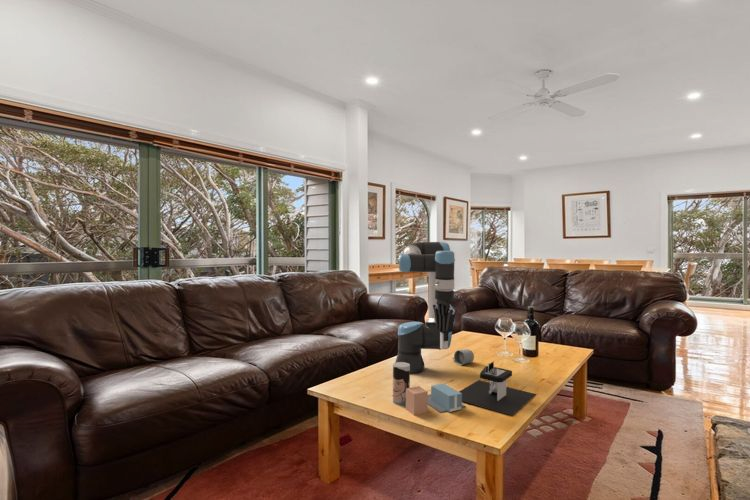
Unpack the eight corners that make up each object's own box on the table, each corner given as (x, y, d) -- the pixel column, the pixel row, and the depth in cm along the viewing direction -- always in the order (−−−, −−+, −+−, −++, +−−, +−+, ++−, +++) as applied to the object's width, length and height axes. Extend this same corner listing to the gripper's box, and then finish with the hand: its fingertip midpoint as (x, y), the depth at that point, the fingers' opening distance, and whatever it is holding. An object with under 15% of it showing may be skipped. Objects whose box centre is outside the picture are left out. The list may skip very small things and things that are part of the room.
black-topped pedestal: (478, 380, 187) (479, 351, 187) (536, 394, 170) (537, 363, 170) (448, 397, 165) (449, 365, 165) (512, 415, 149) (512, 379, 148)
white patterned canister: (392, 398, 166) (392, 362, 165) (409, 398, 166) (409, 362, 165) (393, 404, 159) (393, 367, 159) (410, 405, 159) (410, 367, 158)
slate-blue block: (449, 411, 152) (431, 400, 162) (462, 409, 154) (443, 397, 165) (449, 396, 151) (431, 385, 162) (462, 393, 154) (443, 383, 165)
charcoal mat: (417, 397, 166) (417, 396, 166) (441, 393, 171) (441, 392, 171) (440, 412, 152) (440, 411, 152) (465, 407, 157) (465, 406, 157)
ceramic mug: (475, 364, 212) (475, 349, 212) (464, 366, 207) (464, 351, 207) (459, 359, 221) (459, 345, 221) (449, 362, 216) (449, 347, 216)
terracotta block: (405, 409, 155) (405, 388, 155) (419, 406, 158) (419, 386, 157) (413, 415, 150) (414, 394, 149) (427, 412, 152) (427, 391, 152)
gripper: (427, 288, 164) (426, 345, 165) (446, 292, 152) (446, 354, 154) (442, 287, 167) (442, 343, 169) (462, 291, 156) (461, 351, 157)
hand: (443, 348), depth 161 cm, fingers closed
